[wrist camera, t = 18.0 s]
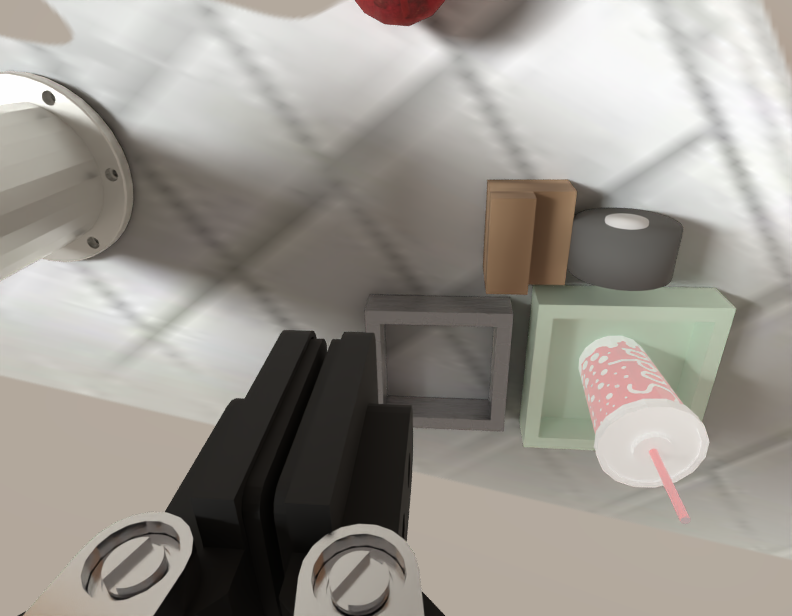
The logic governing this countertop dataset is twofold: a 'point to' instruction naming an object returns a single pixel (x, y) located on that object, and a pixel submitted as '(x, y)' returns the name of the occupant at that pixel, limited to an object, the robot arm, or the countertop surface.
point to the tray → (615, 316)
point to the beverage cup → (639, 419)
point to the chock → (527, 234)
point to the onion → (399, 10)
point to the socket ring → (449, 314)
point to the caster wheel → (624, 248)
